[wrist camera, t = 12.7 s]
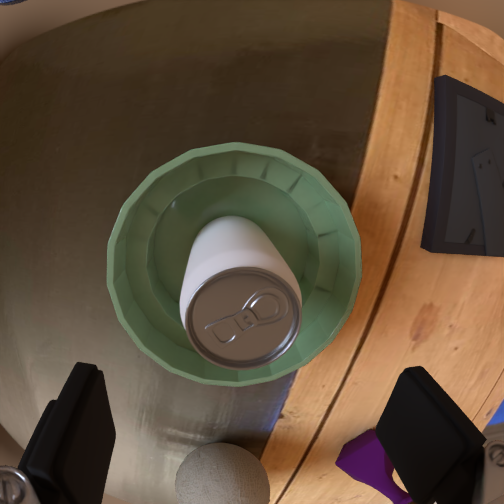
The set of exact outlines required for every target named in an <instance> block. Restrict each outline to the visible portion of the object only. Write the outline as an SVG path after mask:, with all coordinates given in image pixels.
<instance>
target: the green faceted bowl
mask: <svg viewBox="0 0 504 504" xmlns="http://www.w3.org/2000/svg"><path fill="white" fill-rule="evenodd" d="M224 216H240V217H244V218H246V219H249V220H251V221H252V222H254V223H255V224H257V225H258V226H259V227H260V228H261V229H262V230H263V232H264V233H265V234H266V235H267V237H268V238H269V239H270V241H271V242H272V244H273V245H274V246H275V248H276V249H277V251H278V252H279V253H280V255H281V256H282V258H283V259H284V261H285V262H286V263H287V265H288V266H289V268H290V269H291V271H292V273H293V274H294V276H295V278H296V280H297V282H298V285H299V288H300V291H301V297H302V323H301V328H300V331H299V334H298V336H297V338H296V340H295V342H294V343H293V345H292V346H291V348H290V349H289V350H288V351H287V352H286V353H285V354H284V355H283V356H281V357H280V358H279V359H277V360H276V361H274V362H272V363H270V364H268V365H266V366H263V367H260V368H256V369H251V370H231V369H226V368H222V367H219V366H217V365H214V364H212V363H210V362H209V361H207V360H206V359H204V358H203V357H202V356H201V355H200V354H199V353H198V352H197V351H196V350H195V349H194V347H193V346H192V344H191V343H190V341H189V339H188V336H187V333H186V330H185V328H184V326H183V323H182V320H181V315H180V295H181V290H182V285H183V281H184V276H185V272H186V268H187V264H188V260H189V256H190V253H191V249H192V246H193V243H194V240H195V238H196V236H197V234H198V233H199V232H200V230H201V229H202V228H203V227H204V226H205V225H206V224H208V223H209V222H211V221H213V220H215V219H217V218H220V217H224ZM361 278H362V257H361V239H360V235H359V233H358V230H357V228H356V225H355V222H354V220H353V217H352V215H351V212H350V210H349V207H348V205H347V203H346V201H345V200H344V199H343V197H342V196H341V195H340V194H339V193H338V192H337V190H336V189H335V188H334V187H333V186H332V185H331V184H330V182H329V181H328V180H327V179H326V178H325V177H324V176H323V174H322V173H321V172H320V171H319V170H317V169H315V168H314V167H312V166H310V165H308V164H307V163H305V162H303V161H301V160H300V159H298V158H296V157H294V156H292V155H291V154H289V153H287V152H285V151H283V150H281V149H276V148H271V147H265V146H259V145H254V144H247V143H241V142H232V143H226V144H220V145H214V146H208V147H202V148H197V149H192V150H189V151H188V152H186V153H184V154H182V155H180V156H178V157H177V158H175V159H173V160H171V161H169V162H168V163H166V164H164V165H162V166H161V167H159V168H157V169H156V170H154V171H152V172H151V173H150V174H149V175H148V176H147V177H146V179H145V180H144V181H143V182H142V183H141V184H140V185H139V186H138V188H137V189H136V190H135V191H134V192H133V193H132V195H131V196H130V197H129V198H128V199H127V201H126V202H125V203H124V204H123V206H122V208H121V210H120V213H119V215H118V218H117V221H116V223H115V226H114V228H113V231H112V234H111V236H110V239H109V242H108V248H107V286H108V289H109V293H110V296H111V299H112V302H113V305H114V308H115V311H116V314H117V317H118V320H119V321H120V323H121V324H122V326H123V327H124V328H125V330H126V331H127V333H128V334H129V335H130V337H131V338H132V339H133V341H134V342H135V343H136V345H137V346H138V347H139V349H140V350H141V351H142V352H144V353H145V354H146V355H148V356H149V357H150V358H152V359H153V360H154V361H156V362H157V363H158V364H160V365H161V366H163V367H164V368H165V369H167V370H168V371H170V372H172V373H175V374H177V375H180V376H183V377H185V378H188V379H191V380H194V381H196V382H199V383H202V384H209V385H221V386H235V387H241V386H246V385H252V384H257V383H263V382H268V381H273V380H276V379H278V378H280V377H282V376H284V375H286V374H288V373H290V372H292V371H294V370H297V369H299V368H301V367H303V366H305V365H306V364H308V363H309V362H310V361H311V360H312V359H313V358H315V357H316V356H317V355H318V354H319V353H320V352H321V351H323V350H324V349H325V348H326V347H327V346H328V345H329V344H330V343H332V342H333V340H334V339H335V337H336V336H337V334H338V333H339V331H340V330H341V328H342V327H343V325H344V323H345V322H346V320H347V319H348V317H349V316H350V314H351V312H352V310H353V307H354V304H355V300H356V297H357V293H358V289H359V286H360V282H361Z"/></svg>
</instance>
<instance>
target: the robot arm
mask: <svg viewBox="0 0 504 504" xmlns="http://www.w3.org/2000/svg"><path fill="white" fill-rule="evenodd" d="M375 433H376V436H377V438H378V440H379V441H380V443H381V445H382V447H383V448H384V450H385V452H386V454H387V456H388V457H389V459H390V461H391V463H392V464H393V466H394V468H395V470H396V472H397V473H398V475H399V477H400V479H401V481H402V482H403V484H404V486H405V488H406V490H407V491H408V493H409V495H410V497H411V499H412V500H413V502H414V503H417V504H433V503H434V502H435V501H436V503H437V504H504V441H501V440H494V441H491V442H489V443H488V444H487V445H486V447H485V448H484V447H483V446H482V445H483V444H484V442H485V441H486V440H487V439H486V438H485V437H484V436H483V434H482V433H481V432H480V431H479V430H478V429H477V427H476V426H475V425H474V424H473V423H472V422H471V420H470V419H469V418H468V417H467V416H466V415H465V414H464V412H463V411H462V410H461V409H460V408H459V407H458V406H457V404H456V403H455V402H454V401H453V400H452V399H451V398H450V396H449V395H448V394H447V393H446V392H445V391H444V390H443V389H442V388H441V386H440V385H439V384H438V383H437V382H436V381H435V380H434V379H433V378H432V376H431V375H430V374H429V373H428V372H427V371H426V370H425V369H424V368H423V367H422V366H416V367H409V368H406V369H404V371H403V372H402V373H401V374H400V375H399V377H398V380H397V382H396V385H395V387H394V389H393V391H392V394H391V396H390V398H389V400H388V403H387V405H386V407H385V409H384V411H383V413H382V415H381V417H380V420H379V422H378V424H377V426H376V429H375ZM115 439H116V431H115V426H114V422H113V418H112V414H111V409H110V405H109V400H108V395H107V390H106V385H105V380H104V374H103V371H101V370H98V368H97V366H96V365H94V364H88V363H82V362H77V363H76V364H75V366H74V368H73V370H72V372H71V373H70V375H69V377H68V379H67V381H66V383H65V385H64V387H63V389H62V391H61V393H60V395H59V396H58V398H57V400H51V401H50V402H49V403H48V405H47V406H46V408H45V410H44V412H43V414H42V416H41V418H40V420H39V422H38V424H37V426H36V428H35V430H34V433H33V435H32V437H31V439H30V441H29V443H28V445H27V447H26V450H25V452H24V454H23V456H22V459H21V461H20V463H19V465H18V468H15V467H12V466H6V465H5V466H0V504H101V503H102V498H103V493H104V488H105V483H106V479H107V474H108V470H109V465H110V461H111V456H112V452H113V448H114V444H115Z"/></svg>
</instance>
